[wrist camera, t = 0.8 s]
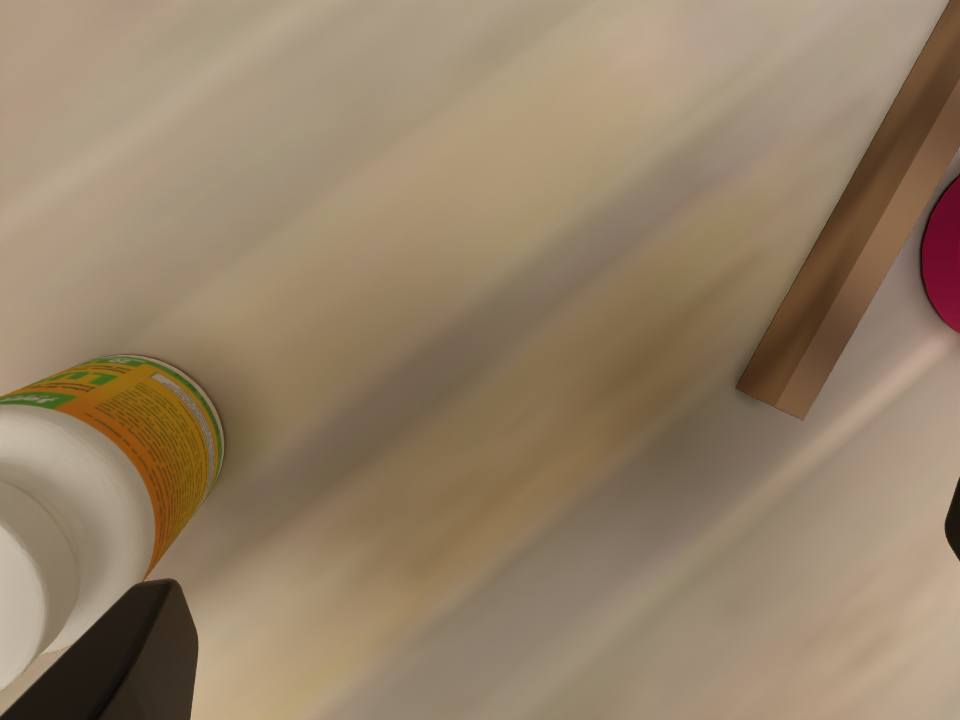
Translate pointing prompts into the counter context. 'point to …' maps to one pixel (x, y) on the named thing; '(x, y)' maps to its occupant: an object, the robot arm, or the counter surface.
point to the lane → (864, 230)
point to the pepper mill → (944, 256)
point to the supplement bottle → (94, 493)
